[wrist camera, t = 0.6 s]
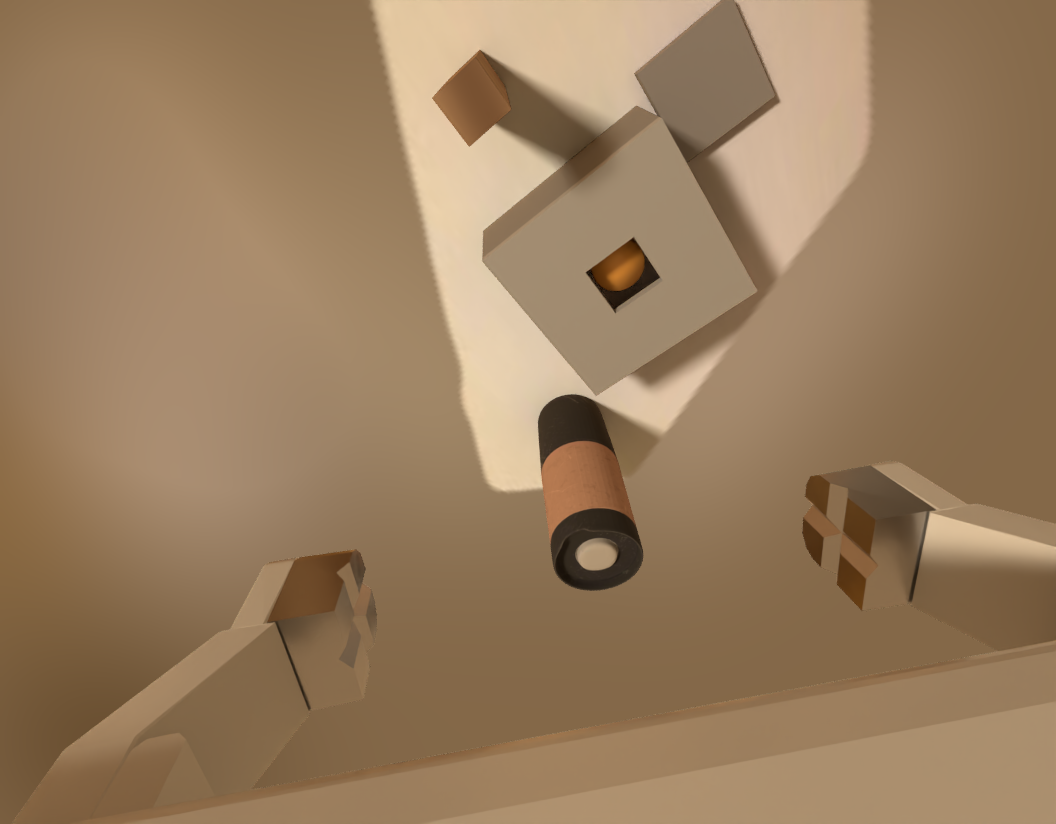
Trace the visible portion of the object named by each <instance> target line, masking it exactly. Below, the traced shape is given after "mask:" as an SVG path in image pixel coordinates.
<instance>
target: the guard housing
mask: <svg viewBox="0 0 1056 824" xmlns="http://www.w3.org/2000/svg"><path fill="white" fill-rule="evenodd" d="M633 237H634V238H635V240H636V241H637V243H638V244H639V246H640V247H641V249H642V250H643V252H644V254H645V255H646V257H647V258H648V260H649V261H650V263H651V264H652V266H653V267H654V269H655V270H656V272H657V273H658V275H659V276H660V278H659V279H657V280H656V281H654V282H653V283H651V284H650V285H649V286H647V287H646V288H644V289H643V290H641V291H640V292H639V293H637V294H636V295H634V296H633V297H631V298H630V299H628V300H627V301H626V302H624V303H623V304H621V305H620V306H618V307H617V308H616V309H613V308H612V306H611V305H610V304H609V302H608V301H607V300H606V298H605V297H604V296H603V294H602V293H601V292H600V290H599V289H598V287H597V286H596V285H595V283H594V282H593V281H592V279H591V278H590V277H589V275H588V274H587V273H586V272H587V271H588V270H590V269H591V268H592V267H594V266H595V265H596V264H598V263H599V262H600V261H602V260H603V259H605V258H606V257H607V256H609V255H610V254H611V253H613V252H614V251H615V250H617V249H618V248H620V247H621V246H622V245H624V244H625V243H626V242H628V241H629V240H630V239H632V238H633ZM482 262H483V263H484V264H485V265H486V266H487V267H488V269H489V270H490V271H491V272H492V273H493V275H494V276H495V277H496V278H497V279H498V280H499V282H500V283H501V284H502V285H503V286H504V288H505V289H506V290H507V291H508V292H509V293H510V295H511V296H512V297H513V298H514V299H515V301H516V302H517V303H518V304H519V305H520V306H521V308H522V309H523V310H524V311H525V312H526V314H527V315H528V316H529V317H530V318H531V319H532V321H533V322H534V323H535V324H536V325H537V327H538V328H539V329H540V330H541V331H542V332H543V334H544V335H545V336H546V337H547V338H548V340H549V341H550V342H551V343H552V344H553V345H554V347H555V348H556V349H557V350H558V351H559V353H560V354H561V355H562V356H563V357H564V358H565V360H566V361H567V362H568V363H569V364H570V366H571V367H572V368H573V369H574V370H575V371H576V373H577V374H578V375H579V376H580V377H581V379H582V380H583V381H584V382H585V383H586V384H587V386H588V387H589V388H590V389H591V390H592V392H593V393H594V394H595V395H596V396H597V395H598V394H600V393H601V392H603V391H604V390H606V389H608V388H609V387H611V386H612V385H614V384H615V383H617V382H618V381H620V380H621V379H623V378H625V377H626V376H628V375H629V374H631V373H632V372H634V371H635V370H637V369H638V368H640V367H642V366H643V365H645V364H646V363H648V362H649V361H651V360H652V359H654V358H656V357H657V356H659V355H660V354H662V353H663V352H665V351H666V350H668V349H669V348H671V347H673V346H674V345H676V344H677V343H679V342H680V341H682V340H683V339H685V338H686V337H688V336H690V335H691V334H693V333H694V332H696V331H697V330H699V329H700V328H702V327H703V326H705V325H707V324H708V323H710V322H711V321H713V320H714V319H716V318H717V317H719V316H721V315H722V314H724V313H725V312H727V311H728V310H730V309H731V308H733V307H734V306H736V305H738V304H739V303H741V302H742V301H744V300H745V299H747V298H748V297H750V296H751V295H753V294H755V293H756V292H758V291H757V289H756V287H755V285H754V284H753V282H752V280H751V278H750V276H749V275H748V273H747V271H746V269H745V267H744V265H743V264H742V262H741V260H740V258H739V256H738V255H737V253H736V251H735V249H734V247H733V246H732V244H731V242H730V240H729V238H728V237H727V235H726V233H725V231H724V229H723V228H722V226H721V224H720V222H719V220H718V219H717V217H716V215H715V213H714V211H713V210H712V208H711V206H710V204H709V202H708V200H707V199H706V197H705V195H704V193H703V191H702V190H701V188H700V186H699V184H698V182H697V181H696V179H695V177H694V175H693V173H692V172H691V170H690V168H689V166H688V164H687V163H686V161H685V159H684V157H683V155H682V154H681V152H680V150H679V148H678V146H677V144H676V143H675V141H674V139H673V137H672V135H671V134H670V132H669V130H668V128H667V126H666V125H665V123H664V121H663V119H662V118H660V117H658V116H656V115H654V114H652V113H650V112H648V111H646V110H644V109H642V108H640V107H638V106H635V107H634V108H633V109H632V110H631V111H629V112H628V113H627V114H626V115H624V116H623V117H622V118H621V119H620V120H618V121H617V122H616V123H615V124H613V125H612V126H611V127H610V128H609V129H607V130H606V131H605V132H604V133H602V134H601V135H600V136H599V137H598V138H596V139H595V140H594V141H593V142H591V143H590V144H589V145H588V146H587V147H585V148H584V149H583V150H582V151H580V152H579V153H578V154H577V155H576V156H574V157H573V158H572V159H571V160H569V161H568V162H567V163H566V164H565V165H563V166H562V167H561V168H560V169H558V170H557V171H556V172H555V173H554V174H552V175H551V176H550V177H549V178H547V179H546V180H545V181H544V182H543V183H541V184H540V185H539V186H538V187H536V188H535V189H534V190H533V191H532V192H530V193H529V194H528V195H527V196H525V197H524V198H523V199H522V200H521V201H519V202H518V203H517V204H516V205H514V206H513V207H512V208H511V209H510V210H508V211H507V212H506V213H505V214H503V215H502V216H501V217H500V218H499V219H497V220H496V221H495V222H494V223H492V224H491V225H490V226H489V227H488V228H486V229H485V230H484V231H483V258H482Z"/></svg>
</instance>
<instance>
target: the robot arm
mask: <svg viewBox="0 0 1056 824" xmlns="http://www.w3.org/2000/svg"><path fill="white" fill-rule="evenodd" d="M805 497H806V498H807V500H808V501H809V502H810V503H811V505H812V506H811V508H810V509H809V510H808V511H807V513H806V514H805V515H804V517H803V531H802V534H803V537H804V541H805V545H806V548H807V550H808V552H809V553H810V555H811V557H812V558H813V560H814V561H815V562H816V563H817V564H818V565H819V566H820V567H821V568H823V569H825V570H828V571H830V572H832V573H835V574H837V585H838V586H839V588H840V589H842V591H843V592H844V593H845V594H846V595H847V596H848V597H849V598H850V599H851V600H852V601H853V602H854V603H855V604H856V605H857V606H858V607H859V608H860V610H861V611H865V610H871V609H878V608H885V607H892V606H899V605H905V604H912V605H911V606H912V607H914V608H916V609H918V610H920V611H922V612H924V613H926V614H927V615H929V616H931V617H933V618H935V619H937V620H939V621H941V622H943V623H945V624H947V625H949V626H951V627H953V628H955V629H956V630H958V631H960V632H962V633H964V634H966V635H968V636H970V637H972V638H974V639H976V640H978V641H979V642H982V643H983V644H985V645H987V646H989V647H991V648H993V649H995V650H997V652H992V653H987V654H981V655H976V656H970V657H965V658H960V659H954V660H949V661H944V662H938V663H933V664H927V665H921V666H916V667H910V668H906V669H900V670H894V671H889V672H884V673H878V674H872V675H867V676H862V677H856V678H851V679H845V680H840V681H834V682H829V683H823V684H818V685H813V686H807V687H802V688H797V689H791V690H785V691H780V692H774V693H769V694H764V695H758V696H753V697H748V698H742V699H737V700H731V701H726V702H721V703H715V704H710V705H705V706H700V707H694V708H688V709H684V710H678V711H672V712H667V713H662V714H656V715H651V716H646V717H641V718H635V719H630V720H624V721H619V722H614V723H609V724H603V725H597V726H592V727H587V728H581V729H576V730H571V731H566V732H561V733H555V734H549V735H544V736H538V737H534V738H528V739H522V740H518V741H512V742H506V743H501V744H495V745H491V746H484V747H479V748H474V749H468V750H463V751H458V752H453V753H447V754H441V755H436V756H430V757H425V758H420V759H414V760H409V761H403V762H398V763H393V764H387V765H382V766H376V767H371V768H366V769H361V770H355V771H349V772H344V773H339V774H333V775H328V776H322V777H317V778H312V779H306V780H301V781H296V782H290V783H285V784H279V785H274V786H269V787H263V788H258V789H252V790H251V788H252V787H253V786H254V784H255V783H256V782H257V780H259V778H260V777H261V776H262V774H263V773H264V772H265V771H266V769H267V768H268V767H269V765H270V764H271V763H272V762H273V760H274V759H275V758H276V757H277V755H278V754H279V753H280V751H281V750H282V749H283V748H284V746H285V745H286V744H287V742H288V741H289V740H290V739H291V737H292V736H293V735H294V734H295V732H296V731H297V730H298V729H299V727H300V726H301V725H302V723H303V722H304V721H305V719H306V718H307V717H308V716H309V714H310V713H309V711H312V710H316V709H321V708H326V707H331V706H336V705H340V704H346V703H350V702H355V701H360V700H363V699H364V694H365V689H366V684H367V679H368V674H369V669H370V664H369V661H368V657H367V654H366V653H367V652H368V651H369V650H370V649H371V647H372V646H373V645H374V643H375V637H376V627H377V626H376V625H377V619H376V616H377V614H376V608H375V601H374V597H373V594H372V590H371V589H370V588H369V587H367V586H366V585H365V584H363V583H362V581H363V577H364V573H365V566H364V563H363V560H362V557H361V554H360V552H358V551H357V550H356V549H354V550H347V551H340V552H333V553H326V554H319V555H312V556H305V557H299V558H291V559H285V560H279V561H273V562H269V563H267V564H266V565H264V567H263V568H262V570H261V572H260V574H259V576H258V578H257V579H256V582H255V583H254V585H253V587H252V589H251V591H250V593H249V595H248V596H247V599H246V600H245V602H244V604H243V606H242V608H241V610H240V612H239V613H238V616H237V618H236V619H235V621H234V623H233V625H232V627H231V629H230V630H225V631H220V632H219V633H218V634H216V635H215V636H214V637H212V638H211V639H210V640H208V641H207V642H206V643H204V644H203V645H202V646H201V647H199V648H198V649H197V650H195V651H194V652H193V653H191V654H190V655H189V656H187V657H186V658H185V659H184V660H182V661H181V662H179V663H178V664H177V665H176V666H174V667H173V668H172V669H170V670H169V671H167V673H165V674H164V675H162V676H161V677H160V678H158V679H157V680H156V681H154V682H153V683H152V684H150V685H149V686H148V687H146V688H145V689H144V690H142V691H141V692H140V693H139V694H137V695H136V696H135V697H133V698H132V699H131V700H129V701H128V702H127V703H125V704H124V705H123V706H121V707H120V708H119V709H117V710H116V711H115V712H114V713H112V714H111V715H110V716H108V717H107V718H106V719H104V720H103V721H102V722H100V723H99V724H98V725H97V726H95V727H94V728H92V729H91V730H90V731H88V732H87V733H86V734H85V735H83V736H82V737H81V738H79V739H78V740H77V741H75V742H74V743H73V744H71V745H70V746H69V747H67V748H66V749H65V750H63V752H62V754H61V755H60V756H59V757H58V759H57V760H56V762H55V763H54V764H53V766H52V767H51V769H50V770H49V772H48V773H47V775H46V776H45V777H44V779H43V780H42V781H41V783H40V784H39V786H38V787H37V789H36V790H35V791H34V793H33V794H32V796H31V797H30V798H29V800H28V801H27V803H26V804H25V805H24V807H23V808H22V810H21V811H20V812H19V814H18V815H17V817H16V818H15V819H14V821H13V822H12V824H1056V524H1054V523H1050V522H1046V521H1042V520H1038V519H1034V518H1030V517H1026V516H1022V515H1019V514H1015V513H1011V512H1007V511H1003V510H1000V509H996V508H991V507H988V506H984V505H980V504H972V505H967V504H966V503H964V502H963V501H961V500H959V499H958V498H956V497H954V496H953V495H951V494H950V493H948V492H946V491H945V490H943V489H942V488H940V487H939V486H937V485H935V484H934V483H932V482H931V481H929V480H927V479H926V478H924V477H922V476H921V475H919V474H918V473H916V472H914V471H913V470H911V469H910V468H908V467H907V466H905V465H903V464H902V463H900V462H895V461H886V462H881V463H876V464H871V465H866V466H863V467H858V468H852V469H847V470H841V471H836V472H831V473H825V474H819V475H814V476H810V478H809V480H808V482H807V484H806V492H805Z"/></svg>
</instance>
